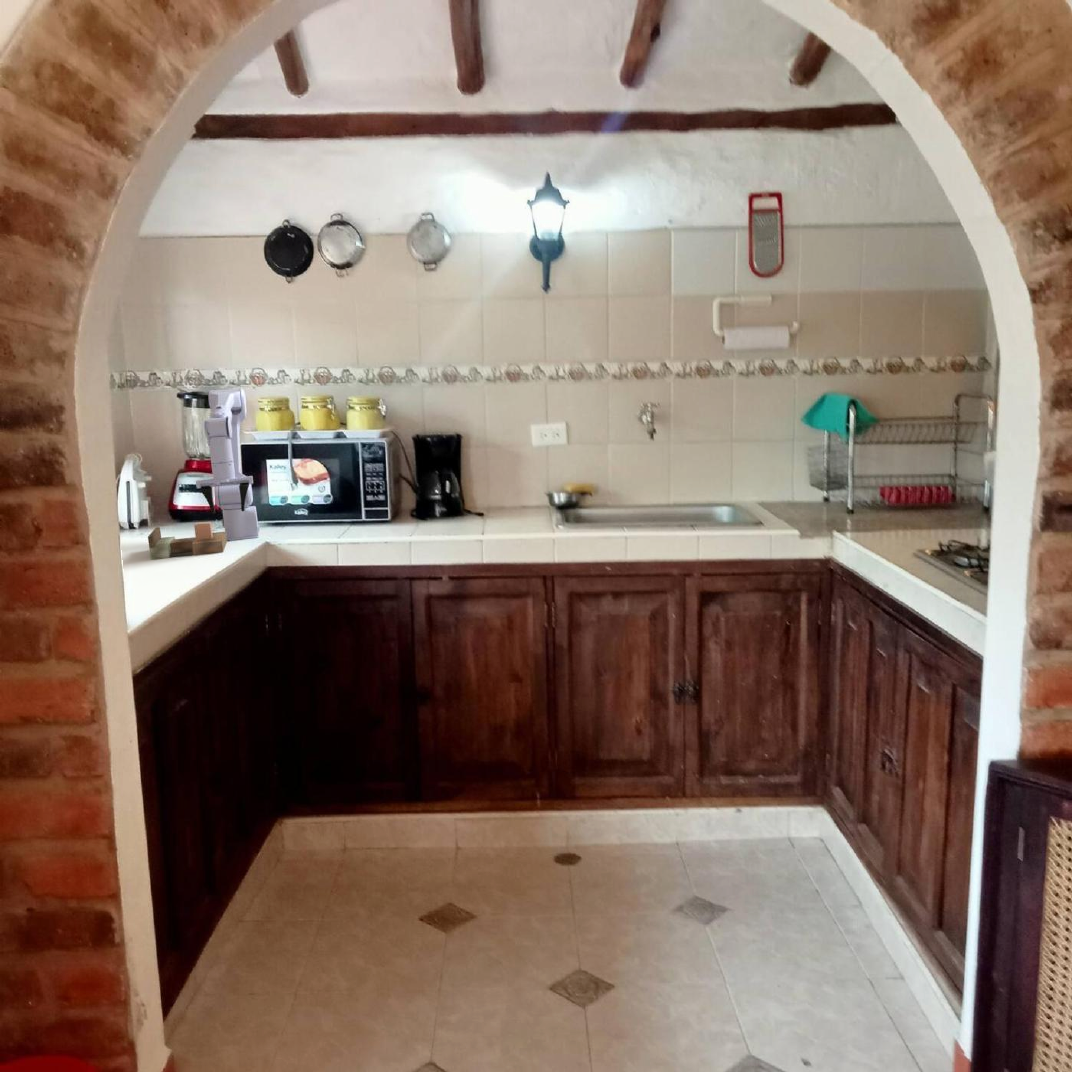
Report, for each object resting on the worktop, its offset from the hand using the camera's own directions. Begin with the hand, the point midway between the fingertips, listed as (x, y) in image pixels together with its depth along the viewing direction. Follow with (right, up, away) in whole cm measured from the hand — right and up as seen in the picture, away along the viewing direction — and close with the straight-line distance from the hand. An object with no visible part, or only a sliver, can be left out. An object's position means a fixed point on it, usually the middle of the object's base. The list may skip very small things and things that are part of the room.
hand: (228, 512), depth 256 cm
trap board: (-10, -10, -1) cm, 14 cm away
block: (-6, -7, 0) cm, 9 cm away
